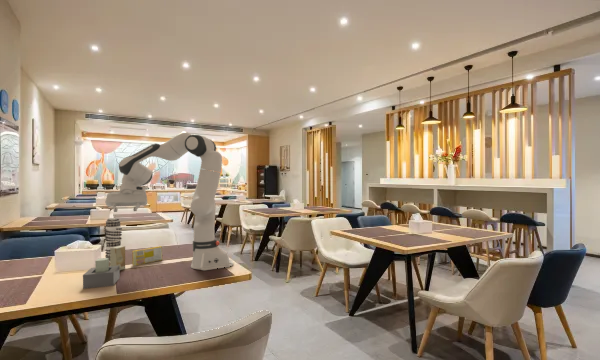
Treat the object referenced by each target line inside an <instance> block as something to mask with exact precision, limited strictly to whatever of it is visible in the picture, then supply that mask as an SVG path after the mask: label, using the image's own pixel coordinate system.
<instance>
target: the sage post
mask: <svg viewBox="0 0 600 360" xmlns="http://www.w3.org/2000/svg"><path fill="white" fill-rule="evenodd" d="M94 262H95V264H94V266H95V267H94V268H96V272H108V271H109V266H110V262H109V258H106V257H104V258H102V257H101V258H97V259H96V260H95V261H94Z"/></svg>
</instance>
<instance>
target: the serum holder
mask: <svg viewBox="0 0 600 360" xmlns="http://www.w3.org/2000/svg"><path fill="white" fill-rule="evenodd" d="M120 271H121V270H120V266H110V265H109V271H108V272H96V268H95V267H91V268H89V269H88V270H87V271H86V272H84V274H83V275H82V289H91V288H92V289H93V288H94V289H95V288H101V287H102V288H103V287H111V286H112V287H113V286H115V285H116V283H117V282H118V281H119V280H120V277H121V276H120V273H121V272H120Z"/></svg>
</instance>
